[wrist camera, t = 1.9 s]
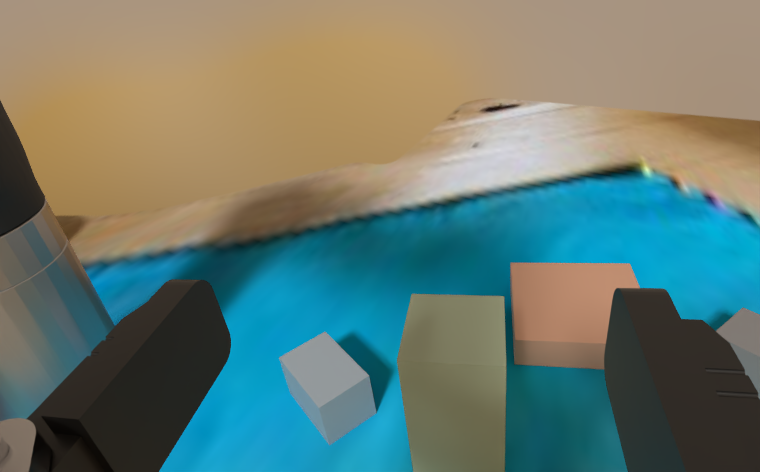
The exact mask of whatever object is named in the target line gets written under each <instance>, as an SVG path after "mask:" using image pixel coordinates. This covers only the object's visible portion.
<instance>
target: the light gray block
mask: <svg viewBox="0 0 760 472" xmlns="http://www.w3.org/2000/svg"><path fill="white" fill-rule="evenodd" d="M279 360H280V363H281V366H282V369H283V372H284V375H285V378H286V381H287V384H288V387H289V390H290V393H291V395H292V396H293V397H294V399H295V400H296V401H297V403H298V404H299V405H300V407H301V408H302V409H303V411H304V412H305V413H306V415H307V416H308V417H309V419H310V420H311V421H312V423H313V424H314V425H315V427H316V428H317V429H318V431H319V432H320V433H321V435H322V436H323V437H324V439H325V440H326V441H327V443H328V444H329V445H331V444H332V443H334V442H335V441H337V440H338V439H339V438H341V437H342V436H344V435H345V434H347V433H348V432H350V431H351V430H352V429H354V428H355V427H357V426H358V425H360V424H361V423H363V422H364V421H366V420H367V419H368V418H370V417H371V416H373V415H374V414H376V408H375V403H374V398H373V393H372V387H371V382H370V377H369V375H368V374H367V373H366V372H365V371H364V370H363V369H362V368H361V367H360V366H359V365H358V364H357V363H356V362H355V361H354V360H353V359H352V358H351V357H350V356H349V355H348V354H347V353H346V352H345V351H344V350H343V349H342V348H341V347H340V346H339V345H338V344H337V343H336V342H335V341H334V340H333V339H332V338H331V337H330V336H329V335H328V334H327V333H326V332H324V333H322V334H320V335H318V336H317V337H315V338H313V339H311V340H309V341H308V342H306V343H304V344H302V345H301V346H299V347H297V348H295V349H293V350H292V351H290V352H288V353H286V354H285V355H283V356H281V357H279Z"/></svg>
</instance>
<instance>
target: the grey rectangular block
mask: <svg viewBox="0 0 760 472" xmlns="http://www.w3.org/2000/svg"><path fill="white" fill-rule="evenodd" d="M716 332H717V333H718V334H720V335H721V336H722V337H723V338H724V339H725V340H727V341H728V342H729V343H730V345H731V346H732V348H733V350H734V352H735V353H736V355H737V357H738V359H739V360H740V362H741V364H742V365H743V367H744V369H745V375H748V376H749V378H750V379H751V381H752V383H753V385H754V386H755V388H756V390H757V391H758V397H759V399H760V315H759V314H757V313H755V312H752V311H750V310H748V309H745V308H742V309H741V310H740V311H738V312H737V313H736V314H735V315H734V316H733V317H731V318H730V319H729V320H728V321H727V322H726V323H725V324H723V325H722V326H721V327H720V328H719V329H718V330H716Z"/></svg>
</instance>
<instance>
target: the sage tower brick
mask: <svg viewBox="0 0 760 472" xmlns="http://www.w3.org/2000/svg"><path fill="white" fill-rule="evenodd" d="M397 364H398V371H399V377H400V384H401V391H402V398H403V405H404V411H405V418H406V425H407V432H408V438H409V445H410V452H411V459H412V466H413V472H505V422H506V339H505V307H504V296H475V295H435V294H412V295H411V299H410V304H409V308H408V313H407V317H406V322H405V326H404V331H403V335H402V340H401V345H400V349H399V354H398V358H397Z"/></svg>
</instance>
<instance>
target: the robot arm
mask: <svg viewBox="0 0 760 472" xmlns="http://www.w3.org/2000/svg"><path fill="white" fill-rule="evenodd" d="M230 348H231V338H230V333H229V330H228V328H227V325H226V322H225V320H224V317H223V315H222V312H221V309H220V307H219V304H218V301H217V299H216V296H215V294H214V291H213V288H212V286H211V285H210V284H209V283H208V282H207V281H205V280H169V281H167V282H166V283H165V284H164V285H163V286H162V287H161V288H160V289H159V290H158V291H157V292H156V293H155V294H154V295H153V296H152V297H151V299H150V300H149V301H148V302H147V303H145V304H144V305H142V306H141V307H139V308H138V309H136V310H135V311H133V312H132V313H130V314H129V315H127V316H126V317H124V318H123V319H122V320H121V321H120V322H119V323H118V324H117V325H116V326H115V325H114V323H113V321H112V320H111V318H110V316H109V314H108V312H107V310H106V309H105V307H104V305H103V303H102V301H101V299H100V298H99V296H98V294H97V292H96V290H95V288H94V287H93V285H92V283H91V281H90V279H89V277H88V275H87V274H86V272H85V270H84V268H83V266H82V264H81V263H80V261H79V259H78V257H77V255H76V253H75V252H74V250H73V248H72V246H71V244H70V242H69V241H68V239H67V237H66V235H65V234H64V232H63V230H62V228H61V226H60V225H59V223H58V221H57V219H56V217H55V215H54V214H53V212H52V210H51V208H50V206H49V204H48V202H47V201H46V199H45V196H44V194H43V192H42V191H41V189H40V187H39V185H38V183H37V181H36V179H35V177H34V174H33V172H32V169H31V166H30V164H29V161H28V159H27V156H26V153H25V150H24V148H23V146H22V144H21V141H20V139H19V137H18V135H17V133H16V131H15V129H14V127H13V125H12V123H11V121H10V119H9V117H8V115H7V113H6V111H5V110H4V107H3V105H2V103H1V101H0V472H159V470H160V469H161V467H162V465H163V464H164V462H165V461H166V459H167V457H168V456H169V454H170V453H171V451H172V449H173V448H174V446H175V444H176V443H177V441H178V440H179V438H180V436H181V435H182V433H183V432H184V430H185V428H186V427H187V425H188V423H189V422H190V420H191V419H192V417H193V415H194V414H195V412H196V411H197V409H198V407H199V406H200V404H201V403H202V401H203V399H204V398H205V396H206V394H207V393H208V391H209V390H210V388H211V386H212V385H213V383H214V382H215V380H216V378H217V377H218V375H219V373H220V372H221V370H222V369H223V367H224V365H225V364H226V362H227V360H228V357H229V354H230ZM604 371H605V380H606V386H607V390H608V394H609V398H610V402H611V406H612V410H613V414H614V418H615V422H616V426H617V430H618V434H619V438H620V442H621V446H622V450H623V454H624V458H625V462H626V466H627V470H628V472H760V399H759V397H758V391H757V390H756V388H755V386H754V385H753V383H752V381H751V379H750V378H749V376H748V375H745V369H744V367H743V365H742V364H741V362H740V360H739V359H738V357H737V355H736V353H735V352H734V350H733V348H732V346H731V345H730V343H729V342H728V341H727V340H725V339H724V338H723V337H722V336H721V335H720V334H718V333H717V332H716V331H715V330H714V329H712V328H711V327H710V326H709V325H708V324H706V323H705V322H704V321H703V320H689V319H681V318H680V316H679V314H678V312H677V310H676V308H675V306H674V304H673V302H672V300H671V297H670V295H669V294H668V292H667V291H666V290H665V289H654V288H616V289H615V291H614V294H613V299H612V305H611V312H610V319H609V325H608V332H607V339H606V345H605V353H604Z"/></svg>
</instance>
